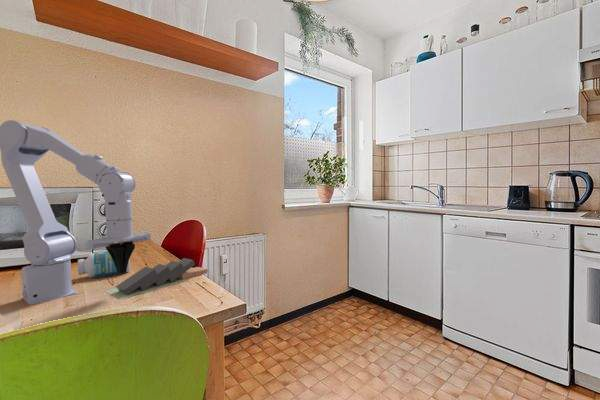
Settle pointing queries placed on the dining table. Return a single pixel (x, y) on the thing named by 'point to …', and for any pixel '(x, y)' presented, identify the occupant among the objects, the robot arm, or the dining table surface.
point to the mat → (137, 291)
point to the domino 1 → (136, 280)
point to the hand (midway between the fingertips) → (121, 272)
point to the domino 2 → (160, 271)
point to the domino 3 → (173, 268)
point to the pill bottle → (98, 265)
